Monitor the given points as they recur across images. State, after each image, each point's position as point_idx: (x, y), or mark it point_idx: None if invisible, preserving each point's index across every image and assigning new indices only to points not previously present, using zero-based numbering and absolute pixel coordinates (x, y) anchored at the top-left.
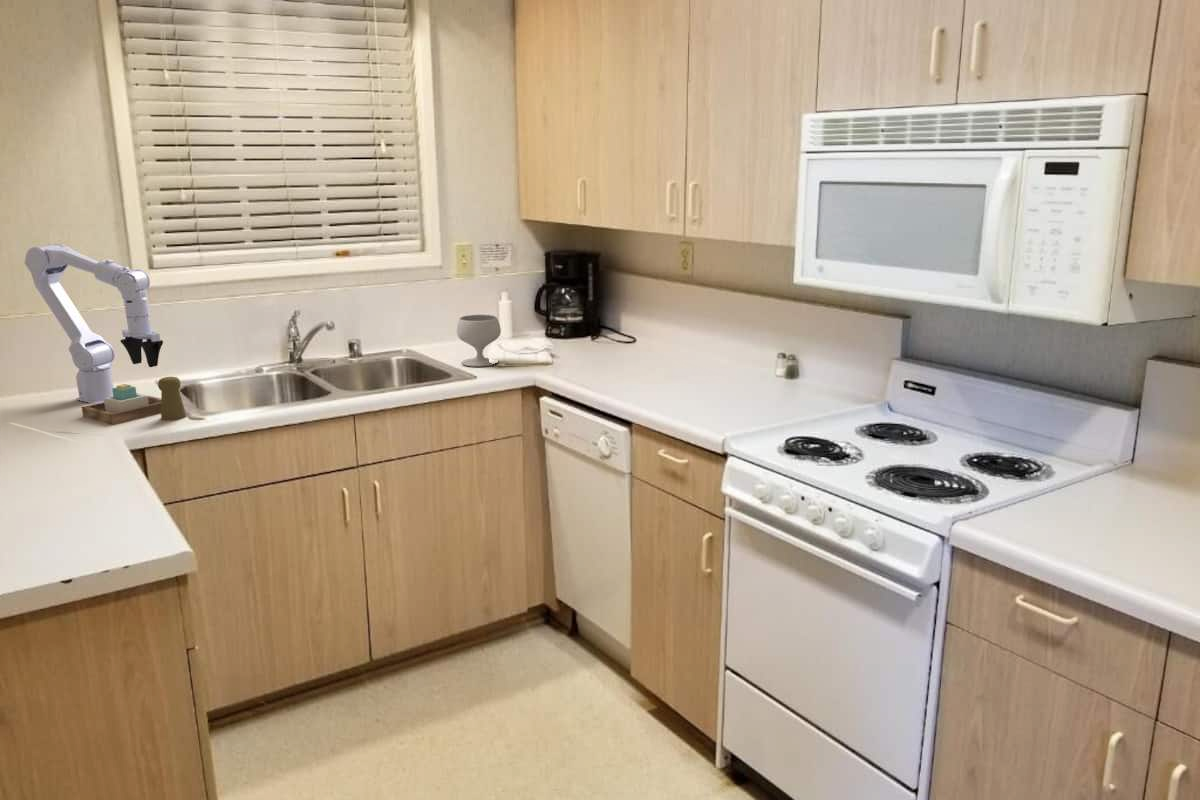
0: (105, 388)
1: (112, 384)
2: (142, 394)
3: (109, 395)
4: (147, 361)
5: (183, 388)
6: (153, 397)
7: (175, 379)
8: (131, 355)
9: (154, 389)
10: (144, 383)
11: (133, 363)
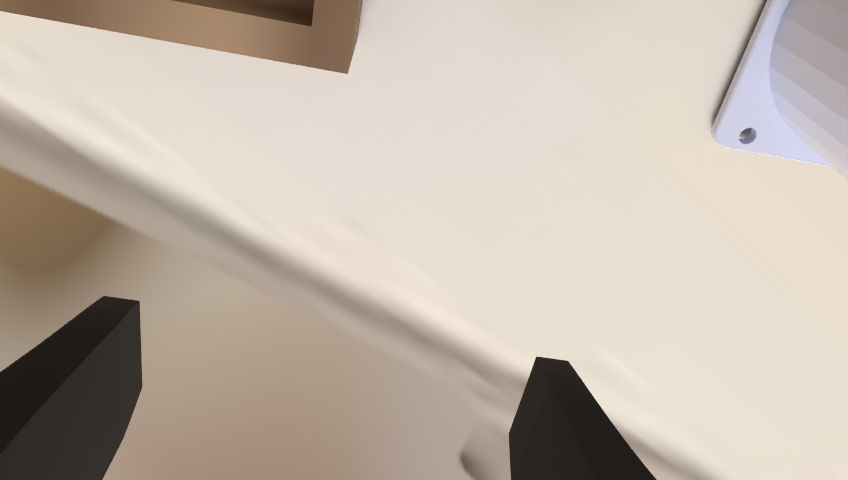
0: (843, 45)
1: (840, 164)
2: (300, 62)
3: (787, 53)
4: (84, 343)
5: (462, 465)
6: (61, 4)
7: None
8: (578, 453)
9: (645, 399)
10: (835, 475)
11: (554, 363)
